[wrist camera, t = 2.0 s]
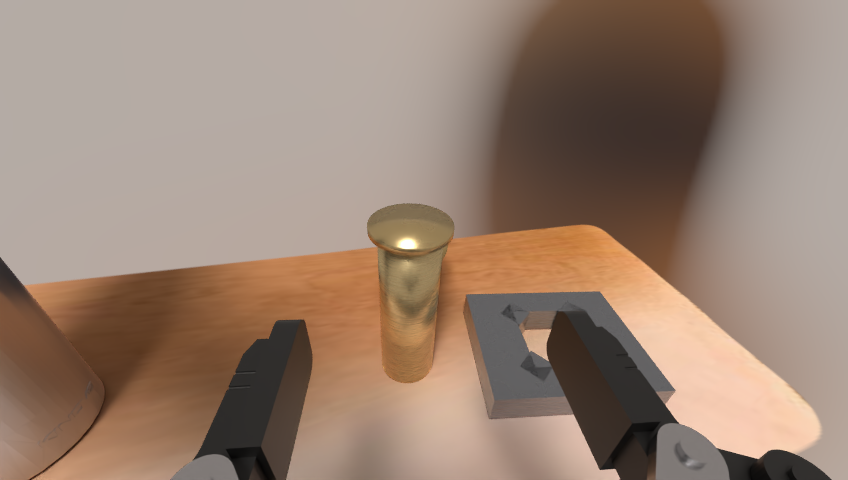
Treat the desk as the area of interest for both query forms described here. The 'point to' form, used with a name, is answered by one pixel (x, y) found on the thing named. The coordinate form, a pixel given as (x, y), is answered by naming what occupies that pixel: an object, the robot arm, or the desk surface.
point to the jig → (526, 371)
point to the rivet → (409, 284)
